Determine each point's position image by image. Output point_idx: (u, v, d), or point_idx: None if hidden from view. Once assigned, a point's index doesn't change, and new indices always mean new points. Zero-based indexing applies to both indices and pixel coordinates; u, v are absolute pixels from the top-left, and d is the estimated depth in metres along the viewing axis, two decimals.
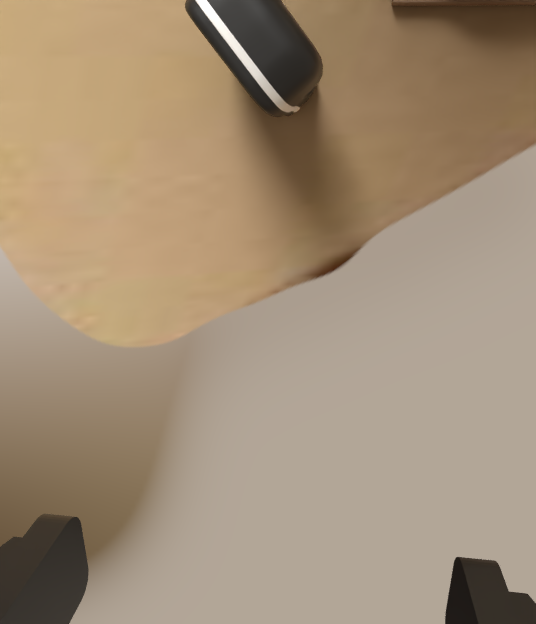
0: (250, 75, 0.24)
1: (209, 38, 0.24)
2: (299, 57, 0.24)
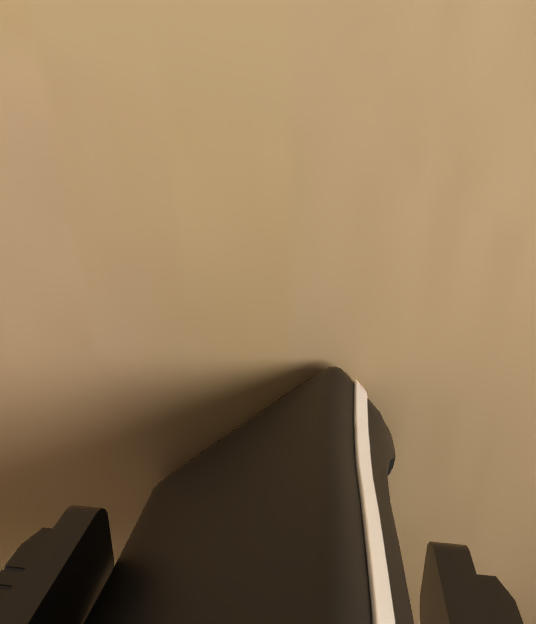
0: None
1: None
2: None
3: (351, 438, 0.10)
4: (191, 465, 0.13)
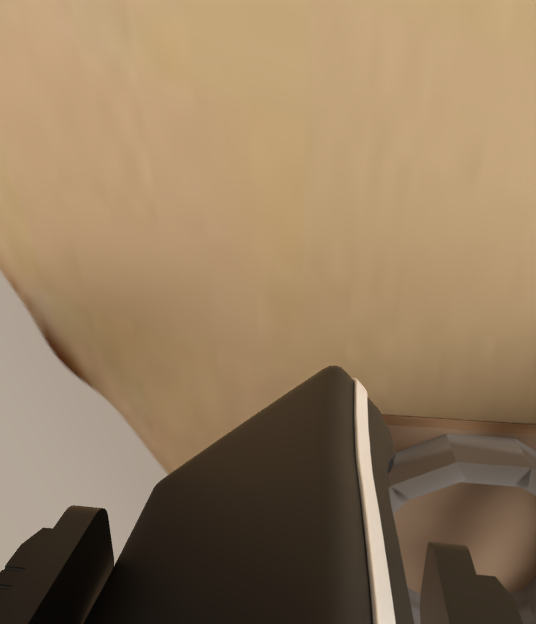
0: None
1: None
2: None
3: (351, 437, 0.10)
4: (191, 464, 0.13)
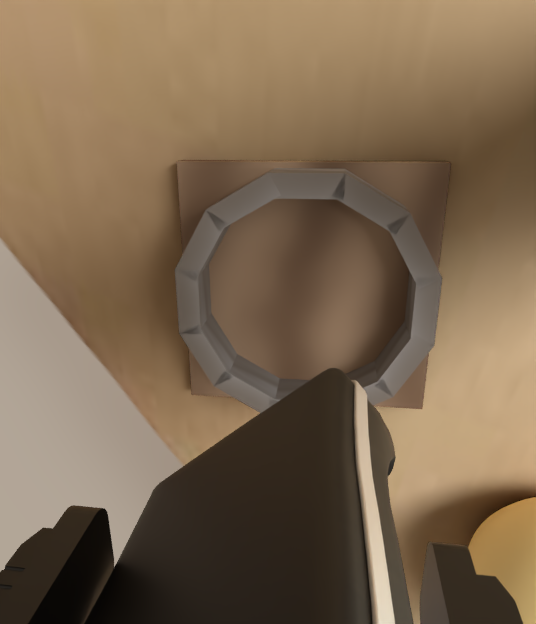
0: None
1: None
2: None
3: (352, 440, 0.10)
4: (191, 466, 0.13)
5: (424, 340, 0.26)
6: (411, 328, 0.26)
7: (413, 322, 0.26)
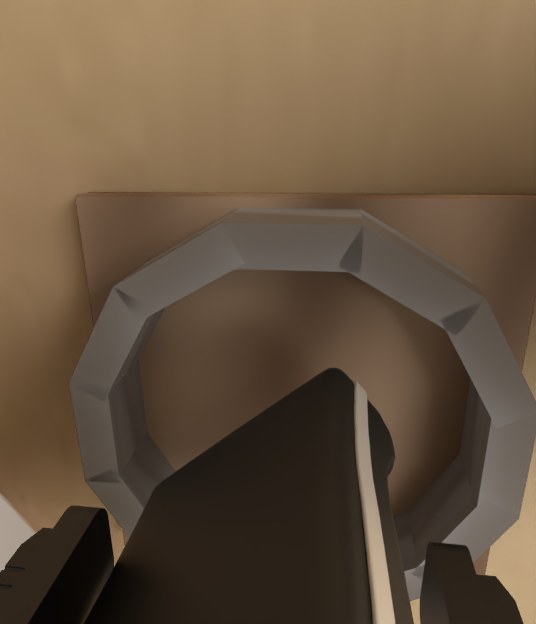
0: None
1: None
2: None
3: (351, 440, 0.10)
4: (191, 466, 0.13)
5: (502, 509, 0.15)
6: (479, 488, 0.15)
7: (483, 481, 0.15)
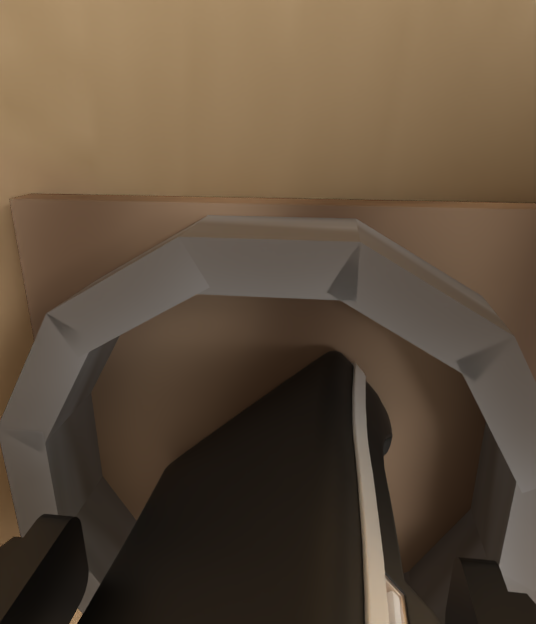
0: None
1: None
2: None
3: (349, 411, 0.11)
4: (200, 445, 0.14)
5: (525, 587, 0.12)
6: (497, 562, 0.12)
7: (504, 554, 0.12)
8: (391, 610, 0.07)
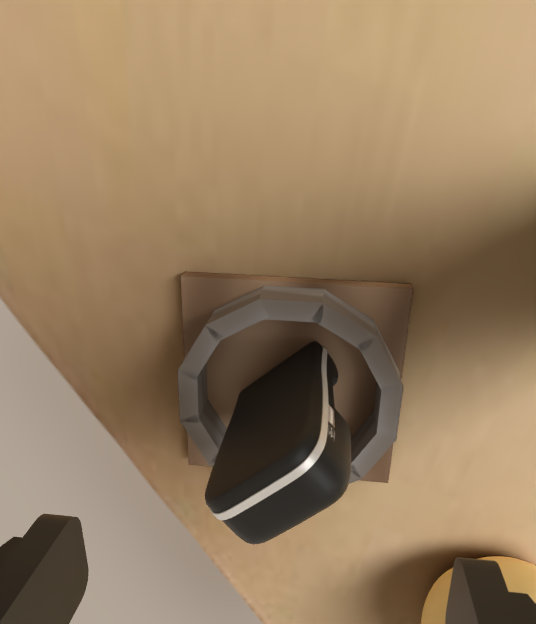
0: (234, 504, 0.23)
1: (269, 470, 0.22)
2: (252, 541, 0.24)
3: (320, 363, 0.29)
4: (257, 381, 0.33)
5: (388, 435, 0.31)
6: (377, 425, 0.31)
7: (379, 420, 0.30)
8: (329, 411, 0.25)
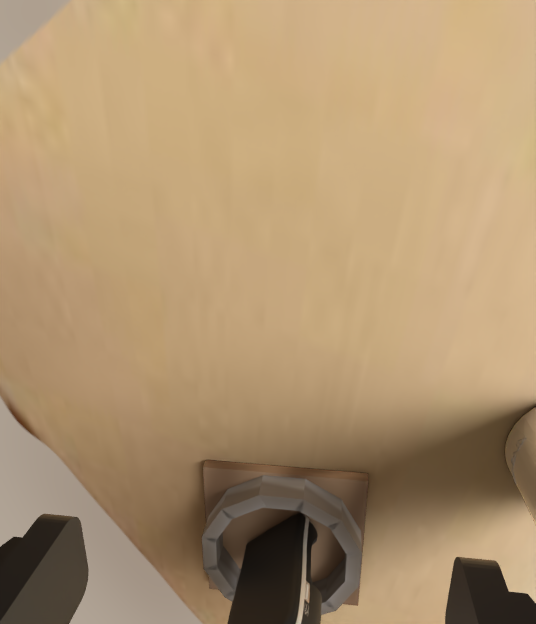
0: None
1: None
2: None
3: (302, 537, 0.41)
4: (258, 538, 0.45)
5: (353, 583, 0.43)
6: (345, 575, 0.43)
7: (346, 573, 0.43)
8: (306, 587, 0.38)
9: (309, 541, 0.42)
